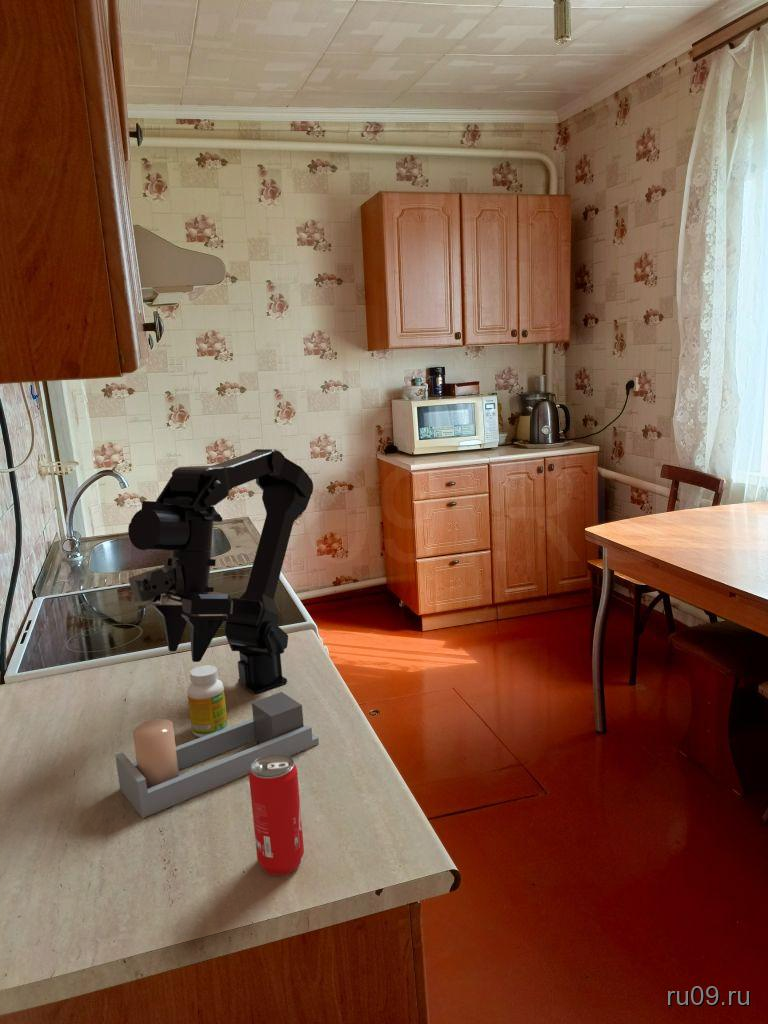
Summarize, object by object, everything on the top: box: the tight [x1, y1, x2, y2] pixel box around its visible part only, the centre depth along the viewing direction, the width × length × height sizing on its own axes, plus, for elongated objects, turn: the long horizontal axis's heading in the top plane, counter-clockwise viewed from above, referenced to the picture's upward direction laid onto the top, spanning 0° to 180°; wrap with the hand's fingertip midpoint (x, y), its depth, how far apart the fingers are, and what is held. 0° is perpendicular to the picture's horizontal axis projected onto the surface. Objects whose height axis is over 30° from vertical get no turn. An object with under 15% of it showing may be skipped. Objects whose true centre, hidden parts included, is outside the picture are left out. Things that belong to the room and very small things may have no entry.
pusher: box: [251, 691, 304, 744], centre depth 107 cm, size 5×6×6 cm
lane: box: [114, 717, 320, 819], centre depth 102 cm, size 26×8×5 cm, turn 128°
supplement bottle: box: [186, 664, 228, 738], centre depth 112 cm, size 5×5×10 cm
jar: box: [132, 719, 180, 789], centre depth 97 cm, size 5×5×9 cm
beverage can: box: [248, 754, 305, 877], centre depth 81 cm, size 5×5×12 cm
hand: (183, 656), depth 110 cm, fingers open, 9 cm apart
